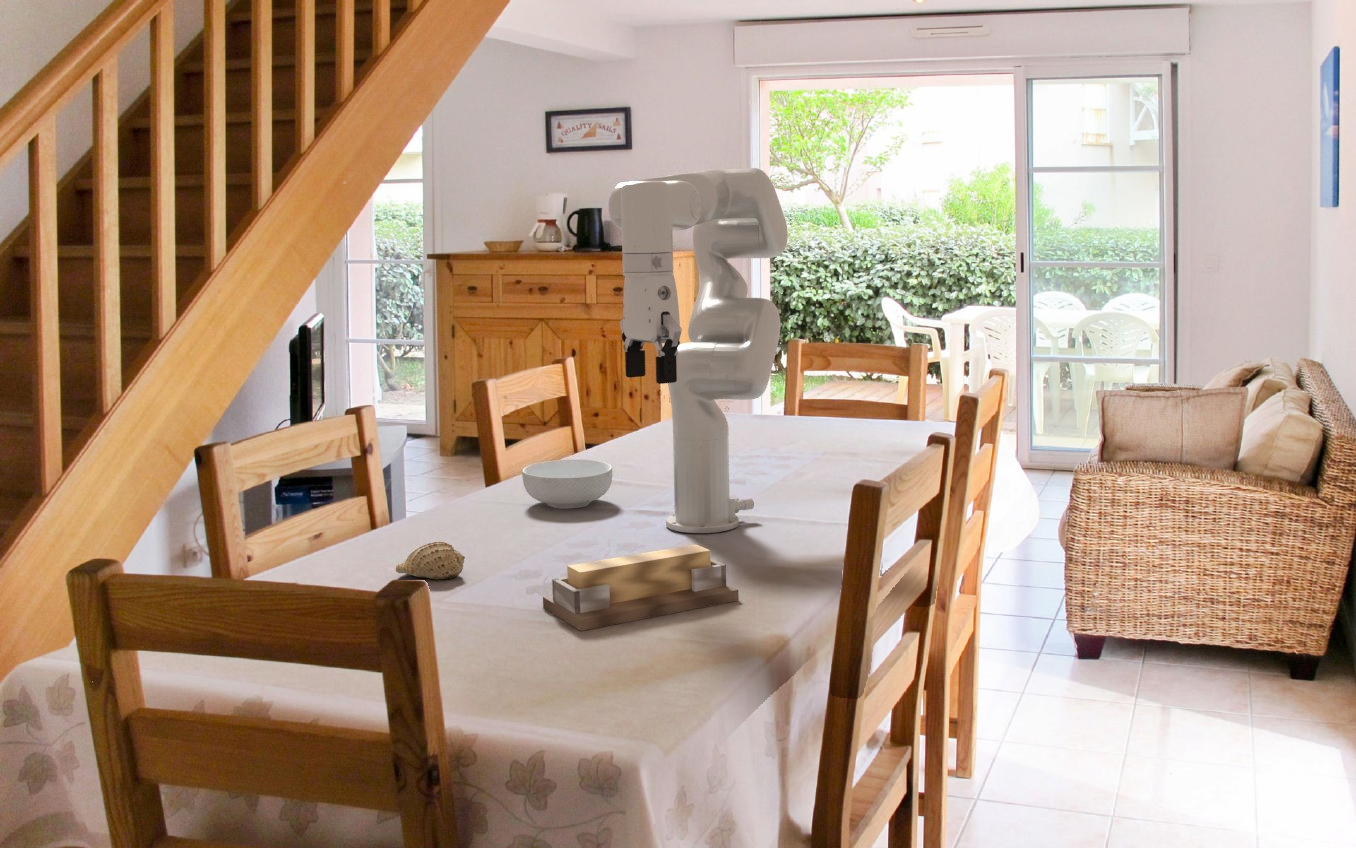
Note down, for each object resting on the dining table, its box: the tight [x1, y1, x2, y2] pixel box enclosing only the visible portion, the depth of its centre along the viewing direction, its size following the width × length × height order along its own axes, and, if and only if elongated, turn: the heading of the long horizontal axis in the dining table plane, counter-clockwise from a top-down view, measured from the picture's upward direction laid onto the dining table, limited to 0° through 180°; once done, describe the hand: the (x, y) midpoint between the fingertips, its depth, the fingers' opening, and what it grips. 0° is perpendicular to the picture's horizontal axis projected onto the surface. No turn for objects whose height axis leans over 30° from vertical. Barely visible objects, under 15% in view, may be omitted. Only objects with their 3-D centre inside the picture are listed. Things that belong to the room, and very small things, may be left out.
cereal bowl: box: [521, 458, 613, 510], centre depth 234 cm, size 17×17×7 cm
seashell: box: [395, 541, 466, 581], centre depth 187 cm, size 8×6×10 cm
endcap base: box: [542, 558, 739, 632], centre depth 171 cm, size 24×12×4 cm, turn 119°
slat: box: [566, 543, 712, 604], centre depth 171 cm, size 20×4×5 cm, turn 120°
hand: (650, 379), depth 188 cm, fingers open, 9 cm apart
